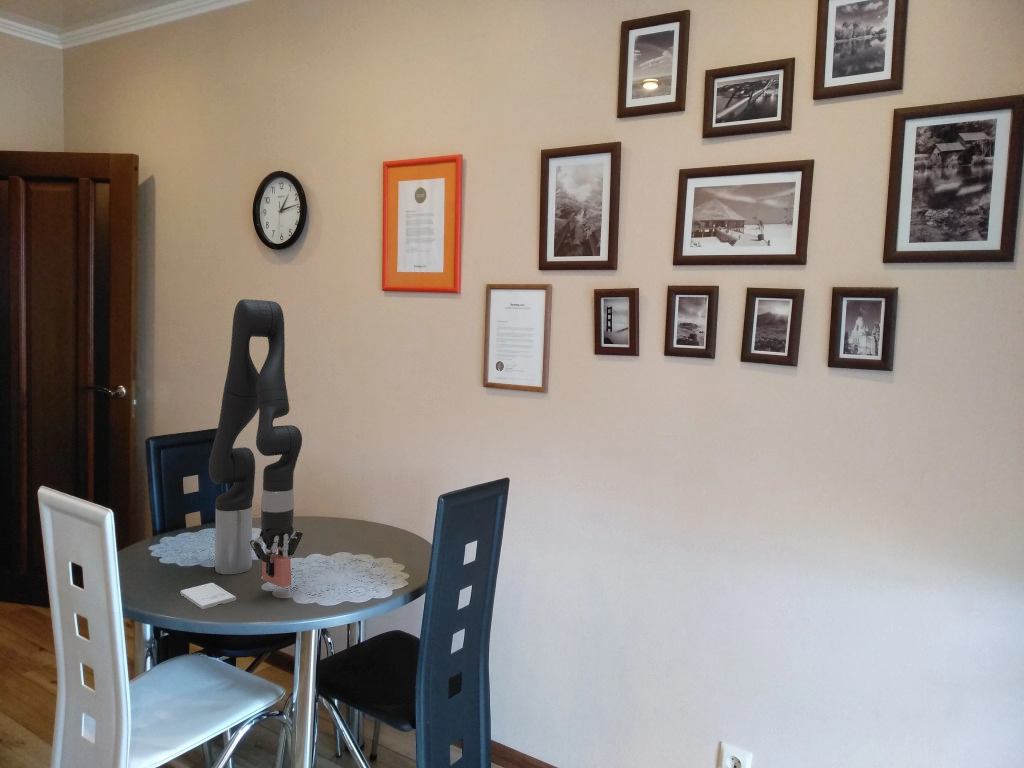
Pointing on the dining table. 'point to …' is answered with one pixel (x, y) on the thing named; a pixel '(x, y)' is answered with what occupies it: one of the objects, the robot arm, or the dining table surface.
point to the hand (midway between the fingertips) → (275, 574)
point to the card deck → (279, 572)
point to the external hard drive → (207, 595)
